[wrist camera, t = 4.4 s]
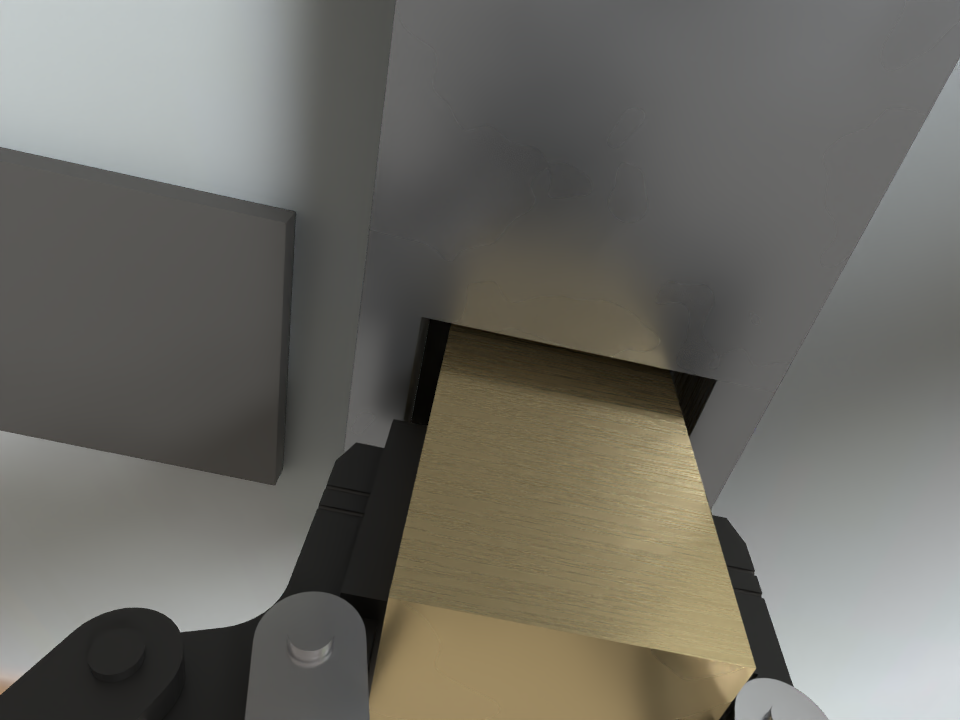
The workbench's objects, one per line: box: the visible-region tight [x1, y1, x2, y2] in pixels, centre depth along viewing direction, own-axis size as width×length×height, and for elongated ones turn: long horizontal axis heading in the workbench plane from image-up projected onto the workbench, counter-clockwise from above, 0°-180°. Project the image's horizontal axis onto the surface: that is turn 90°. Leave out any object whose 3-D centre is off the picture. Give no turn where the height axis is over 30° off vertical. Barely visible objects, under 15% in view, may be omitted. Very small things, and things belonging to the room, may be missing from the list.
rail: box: [343, 0, 960, 509], centre depth 10 cm, size 7×21×3 cm, turn 168°
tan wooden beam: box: [369, 323, 756, 720], centre depth 12 cm, size 4×4×8 cm
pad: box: [0, 147, 296, 485], centre depth 15 cm, size 7×7×1 cm
